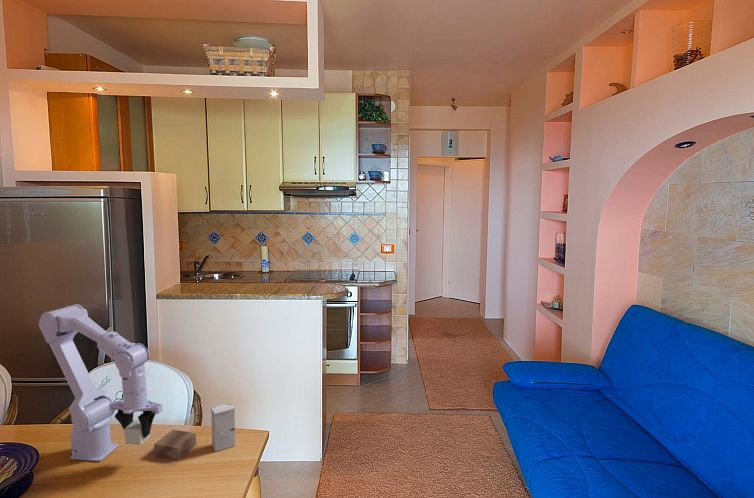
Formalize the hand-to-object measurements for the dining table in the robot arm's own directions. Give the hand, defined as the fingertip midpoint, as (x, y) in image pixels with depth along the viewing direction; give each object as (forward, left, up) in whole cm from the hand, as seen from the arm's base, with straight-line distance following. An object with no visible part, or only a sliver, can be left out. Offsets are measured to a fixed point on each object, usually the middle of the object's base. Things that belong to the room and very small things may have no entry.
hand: (138, 434), depth 124 cm
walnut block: (+7, +7, -9) cm, 13 cm away
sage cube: (0, 0, -2) cm, 2 cm away
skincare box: (+20, +11, -9) cm, 24 cm away
